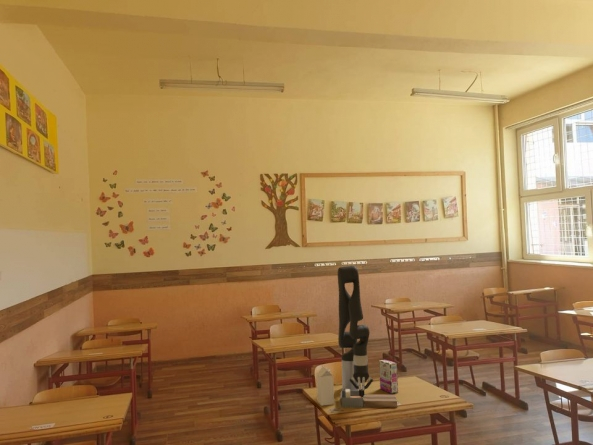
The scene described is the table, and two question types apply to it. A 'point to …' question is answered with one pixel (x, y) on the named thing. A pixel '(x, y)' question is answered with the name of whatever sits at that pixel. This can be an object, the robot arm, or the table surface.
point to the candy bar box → (388, 376)
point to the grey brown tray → (379, 400)
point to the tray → (351, 399)
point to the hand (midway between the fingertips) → (361, 396)
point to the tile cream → (347, 393)
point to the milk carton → (325, 387)
